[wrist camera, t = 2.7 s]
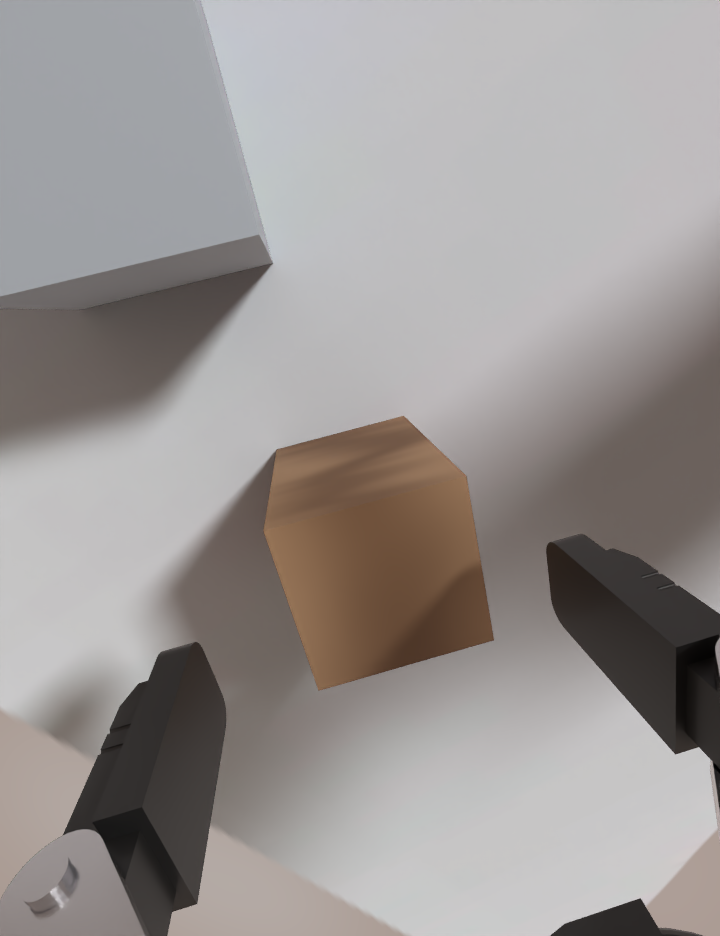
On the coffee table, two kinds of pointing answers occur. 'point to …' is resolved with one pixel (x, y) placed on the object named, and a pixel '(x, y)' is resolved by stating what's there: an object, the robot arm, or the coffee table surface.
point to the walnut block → (375, 551)
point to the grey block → (116, 154)
